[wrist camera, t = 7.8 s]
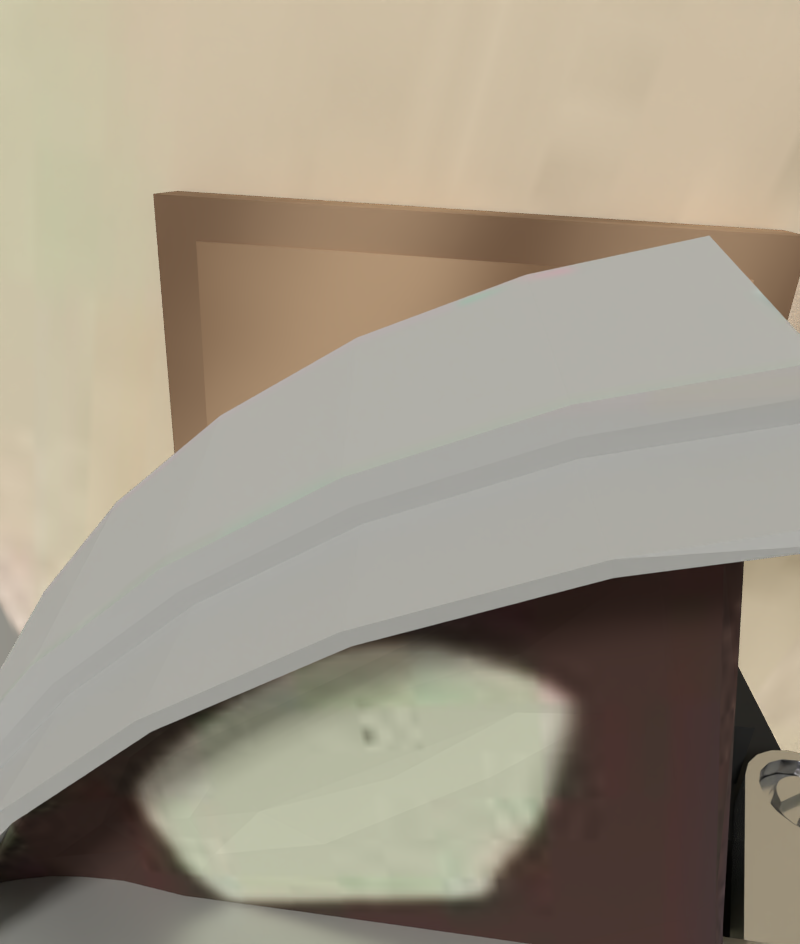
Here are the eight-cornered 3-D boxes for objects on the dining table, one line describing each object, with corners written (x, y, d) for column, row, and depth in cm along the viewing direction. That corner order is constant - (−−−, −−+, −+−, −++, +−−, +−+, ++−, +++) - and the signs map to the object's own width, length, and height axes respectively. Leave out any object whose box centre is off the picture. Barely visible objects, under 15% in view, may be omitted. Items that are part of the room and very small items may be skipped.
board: (783, 230, 14) (812, 237, 13) (657, 711, 19) (669, 748, 17) (177, 190, 14) (151, 194, 13) (210, 662, 19) (193, 694, 18)
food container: (176, 236, 12) (-870, 509, 3) (556, 183, 11) (959, 319, 2) (313, 788, 17) (109, 1561, 7) (584, 783, 16) (730, 1659, 7)
